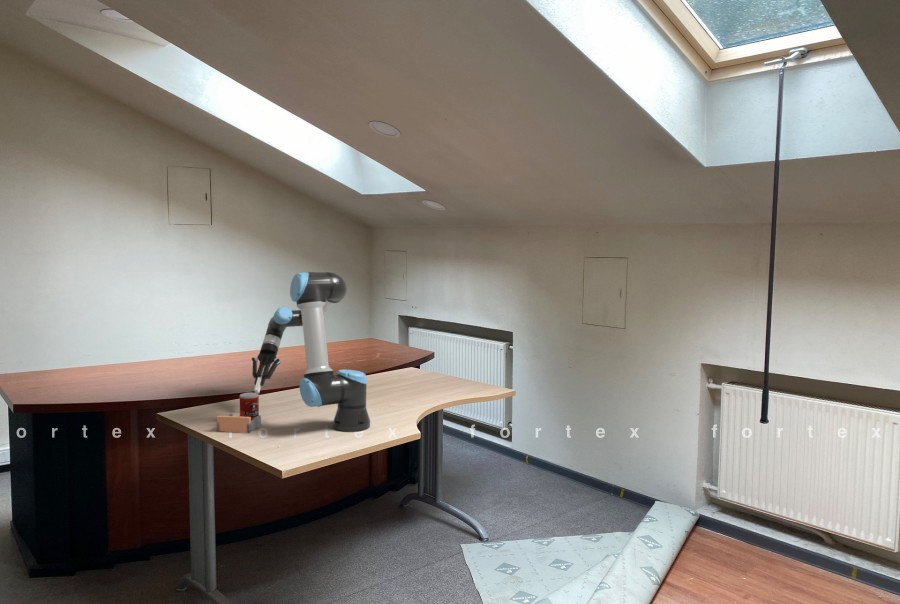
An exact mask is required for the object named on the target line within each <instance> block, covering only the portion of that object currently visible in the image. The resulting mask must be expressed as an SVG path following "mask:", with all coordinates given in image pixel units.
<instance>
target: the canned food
mask: <svg viewBox="0 0 900 604" xmlns="http://www.w3.org/2000/svg"><path fill="white" fill-rule="evenodd" d="M258 415H260V393H255V392H244V393H241V394H239V416H240V417H251V421H252V420H253V419H254V418H256V417H257V416H258Z"/></svg>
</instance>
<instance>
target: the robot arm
mask: <svg viewBox="0 0 900 604" xmlns="http://www.w3.org/2000/svg"><path fill="white" fill-rule="evenodd" d="M346 283H347V282H346V281H345V279H344V278H343V277H342V276H341V275H340V274H338V273H336V272H332V271H325V272H324V271H321V272H320V271H304V272H296V273H295V274H294V275H293V276H292V279H291V282H290V289H289V296H290V298H291V301H292V302H294V303H296V307H297V308H298V309H295V310H292V309H290V308H289V307H287V306H281V307H278V308H277V309H276V311H275V312H274V313H273V316H272V317H270V319H269V322H267V323H268V324H267V329H266V333H265V335H264V338H263V341H262V345H261V347H260V351H259V354H258V355H257V356H256V357H252V358H251V361H252V371H251V372H252V373H251V374H252V377H253V379H254V382H253V383H254V389H253V390H254V393H257V394H260V391H261V388H262V387H264V385H265V381H266V380H270V379H271V378H272V376H273V374H274V372H275V371H276V369H277V367H278V366H279V365H280V364H281V361H280V358H278V357H277V356H278V355H277V354H278V353H279V348H280V344H281V341H282V338H283V335H284V332H285V330H286V329H287V328H293V327H302V333H303V342H304V349H305V350H304V351H305V360H306V361H305V362H306V363H305V364H306V370H305V372H303V377H302V378H301V379H300V380H299V392H300V393H299V394H300V397H301V399H302V401H303V402H304V404H305V405H306V406H307V407H310V408H314V407H315V408H316V407H323V406H330V405H337V408H336V412H335V414H334V418H333V421H332V427H333V429H335V430H337V431H339V432H340V431H341V432H361V431H364V429H365V430H367V429H369V428H370V427H371V419H370V416H369V412H368V410H367V385H368V382H367V374H366V373H364V372H363V371H359V370H354V369H339V370H338V371H337V374H334V369H332V368H331V367H330V365H329V357H328V354H329V353H328V346H327V337H326V327H325V326H326V325H325V318H324V315H325V313H326V312H327V311H328V310H329V309H331V307H333V305H334V304H338V303H340V302H341V301H342V300H343V299H344V298H345V296H346V294H347V289H348V288H347V287H348V286H347V284H346ZM258 362H259V365H258V364H257V363H258ZM360 430H361V431H360Z"/></svg>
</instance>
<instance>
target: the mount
mask: <svg viewBox="0 0 900 604" xmlns="http://www.w3.org/2000/svg"><path fill="white" fill-rule="evenodd" d="M261 424H262V415H260V414H259V415H258V416H257V417H256V418H254V419H253V420H252V421H251V417H240V415H239V416H237V415H236V416H235V415H233V414H232V413H231V414H228V415H217V416H216V432H217V431H225V432H224V433H239V432H241V434H243V433H245V434H246V433H247V434H250V433H251V432H253V431H254V430H255V429H256V428H257V427H259V426H260V425H261ZM258 425H259V426H258ZM253 429H254V430H253ZM242 432H243V433H242Z"/></svg>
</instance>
